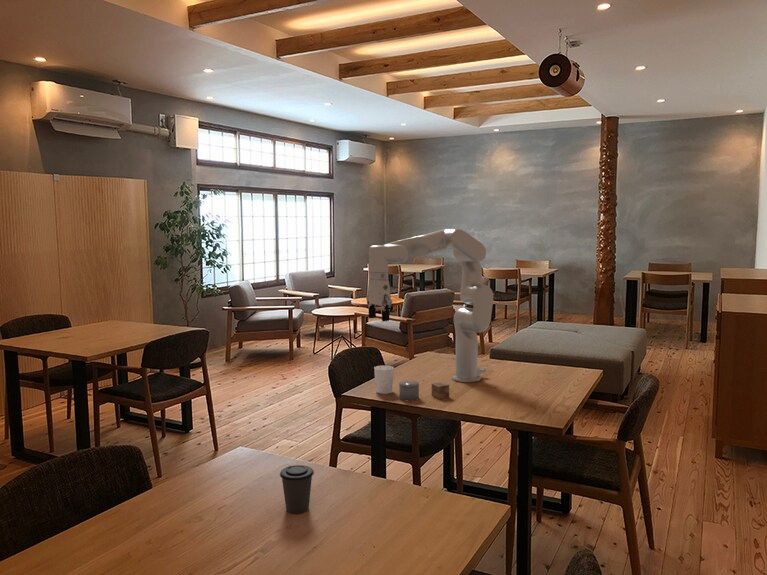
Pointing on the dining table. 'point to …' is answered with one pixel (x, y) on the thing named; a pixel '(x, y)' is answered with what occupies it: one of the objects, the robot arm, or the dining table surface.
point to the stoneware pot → (409, 390)
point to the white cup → (384, 379)
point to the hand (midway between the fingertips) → (378, 319)
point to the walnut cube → (440, 390)
